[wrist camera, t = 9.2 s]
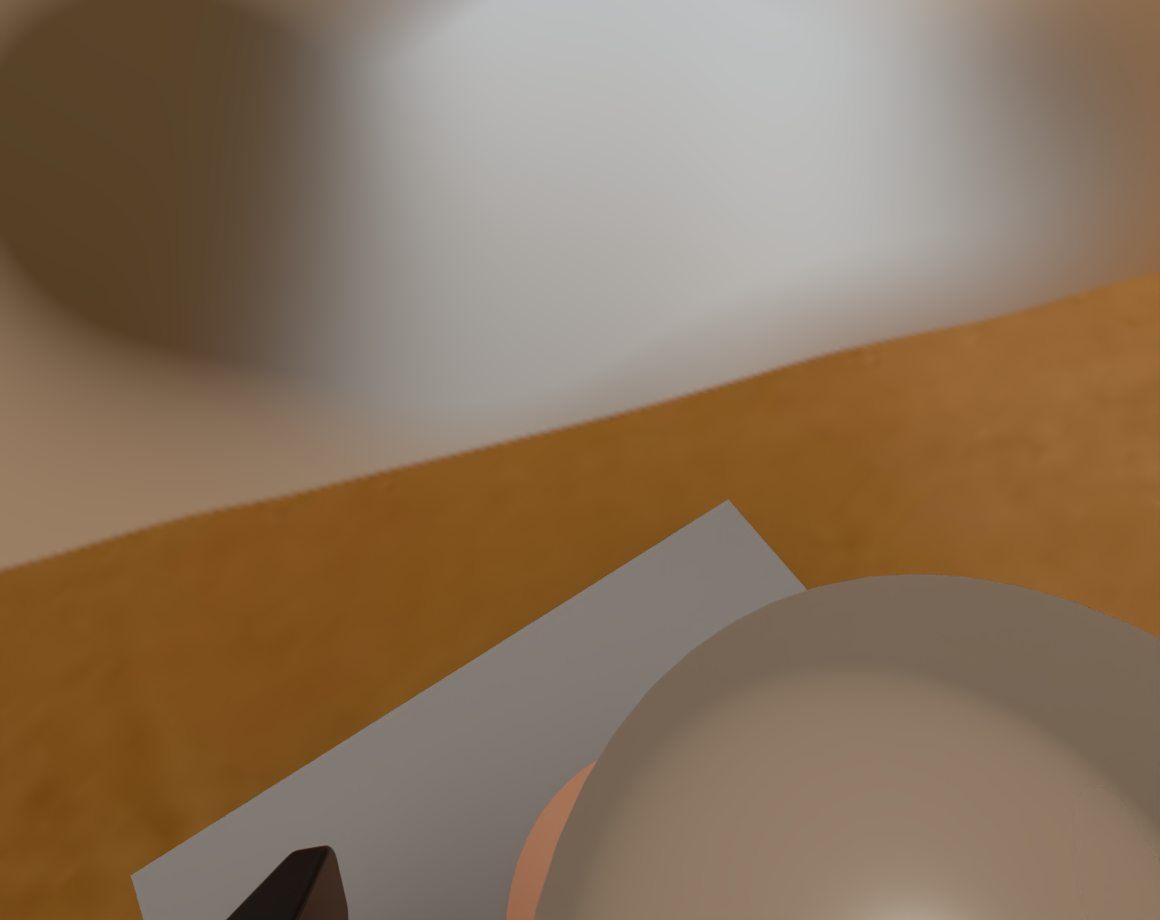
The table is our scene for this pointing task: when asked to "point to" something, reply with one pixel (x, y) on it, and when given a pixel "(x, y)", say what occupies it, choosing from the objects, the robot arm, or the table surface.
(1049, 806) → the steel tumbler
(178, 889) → the slate board
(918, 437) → the table surface
